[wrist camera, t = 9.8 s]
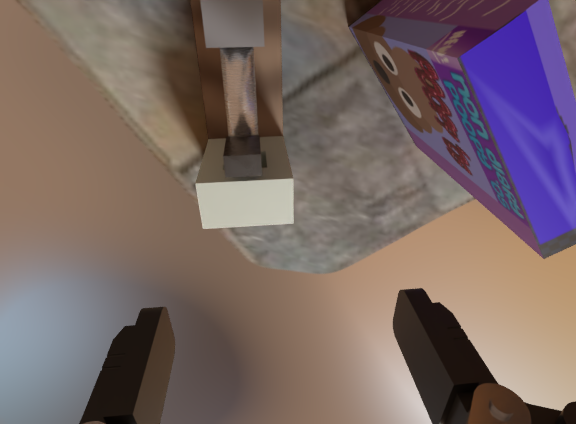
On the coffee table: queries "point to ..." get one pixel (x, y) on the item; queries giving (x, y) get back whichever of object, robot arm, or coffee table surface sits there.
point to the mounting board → (261, 75)
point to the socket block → (246, 188)
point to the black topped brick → (240, 113)
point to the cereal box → (485, 103)
